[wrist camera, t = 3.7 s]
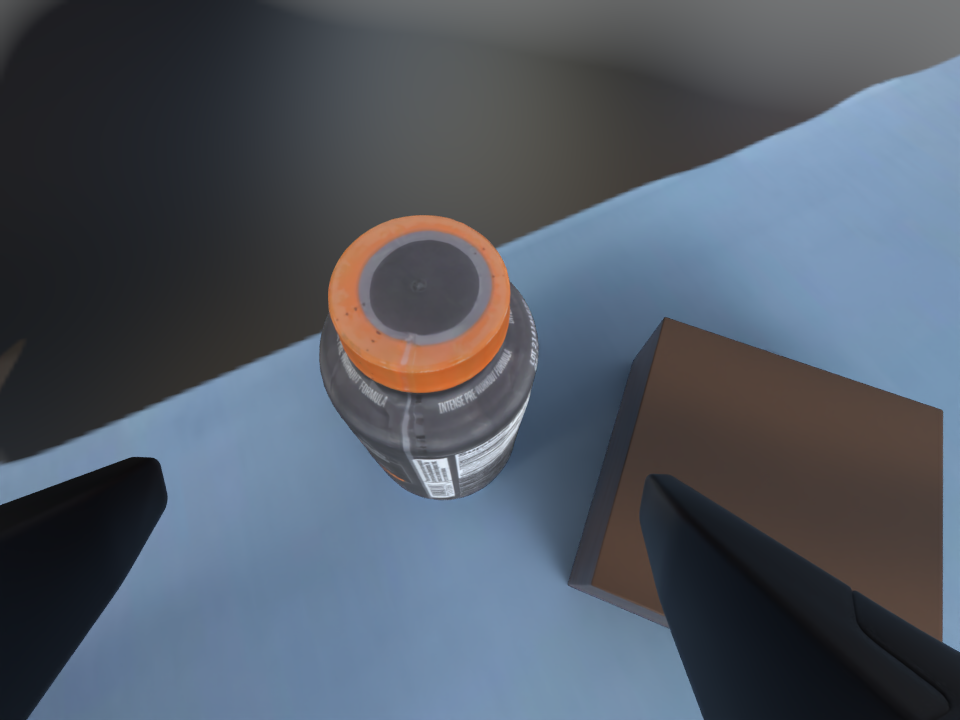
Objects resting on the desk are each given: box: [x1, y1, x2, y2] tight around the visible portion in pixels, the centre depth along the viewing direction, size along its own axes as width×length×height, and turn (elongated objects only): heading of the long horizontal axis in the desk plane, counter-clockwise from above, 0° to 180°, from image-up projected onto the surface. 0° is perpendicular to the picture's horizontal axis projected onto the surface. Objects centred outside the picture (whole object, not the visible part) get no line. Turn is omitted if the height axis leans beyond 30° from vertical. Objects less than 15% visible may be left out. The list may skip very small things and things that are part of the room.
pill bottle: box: [319, 215, 539, 500], centre depth 16 cm, size 6×6×11 cm
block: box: [568, 317, 943, 642], centre depth 18 cm, size 10×10×4 cm
